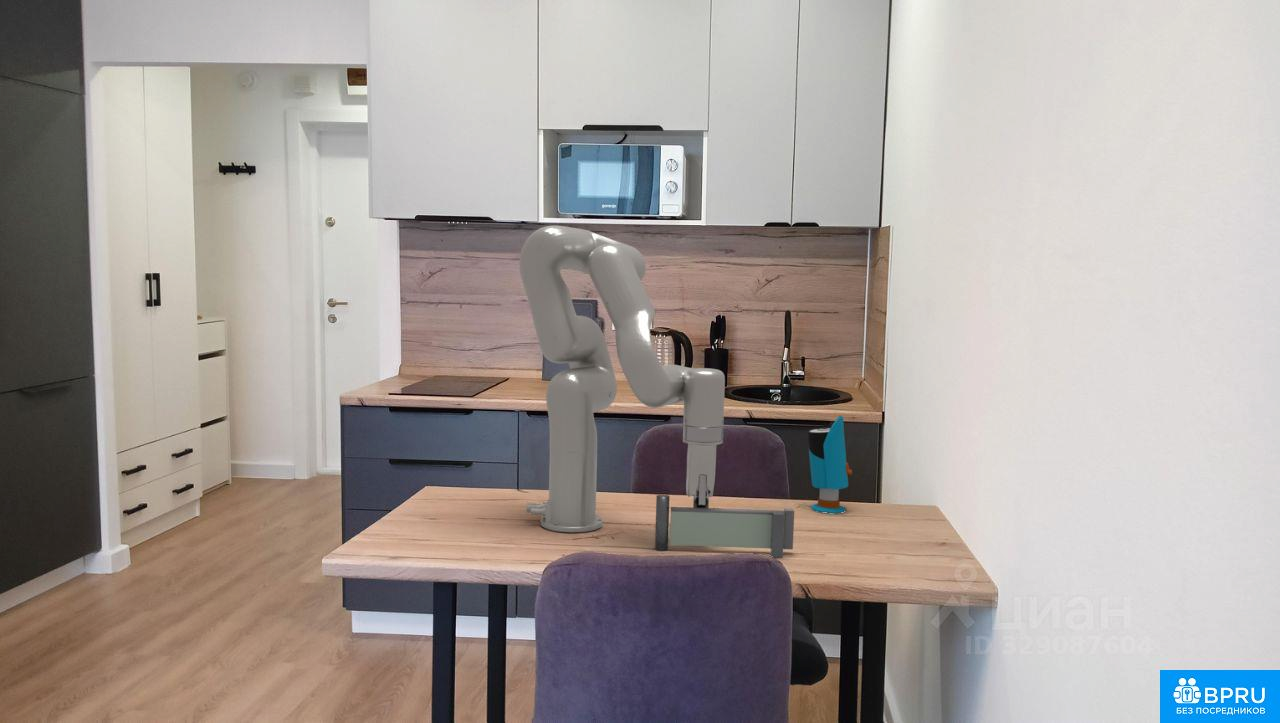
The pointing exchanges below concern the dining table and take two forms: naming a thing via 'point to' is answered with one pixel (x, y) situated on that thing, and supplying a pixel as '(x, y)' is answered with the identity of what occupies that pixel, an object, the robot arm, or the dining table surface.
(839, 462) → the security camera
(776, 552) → the gate frame
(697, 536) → the gate
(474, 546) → the dining table surface
